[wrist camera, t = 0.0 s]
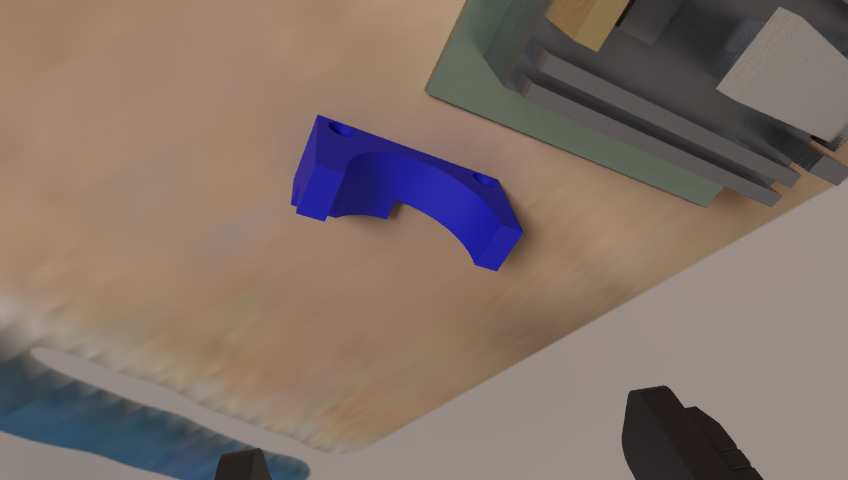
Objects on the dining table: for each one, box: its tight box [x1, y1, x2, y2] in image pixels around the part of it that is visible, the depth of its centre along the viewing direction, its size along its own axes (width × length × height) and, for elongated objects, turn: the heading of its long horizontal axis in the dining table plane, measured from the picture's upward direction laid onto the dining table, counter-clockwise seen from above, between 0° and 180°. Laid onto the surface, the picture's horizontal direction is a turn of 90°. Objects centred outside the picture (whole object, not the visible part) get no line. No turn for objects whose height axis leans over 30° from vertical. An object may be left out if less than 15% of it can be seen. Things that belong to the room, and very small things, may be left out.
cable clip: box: [291, 115, 523, 271], centre depth 31 cm, size 12×4×6 cm, turn 65°
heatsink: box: [425, 0, 848, 207], centre depth 26 cm, size 18×22×8 cm
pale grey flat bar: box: [716, 7, 848, 152], centre depth 23 cm, size 4×15×1 cm, turn 65°
